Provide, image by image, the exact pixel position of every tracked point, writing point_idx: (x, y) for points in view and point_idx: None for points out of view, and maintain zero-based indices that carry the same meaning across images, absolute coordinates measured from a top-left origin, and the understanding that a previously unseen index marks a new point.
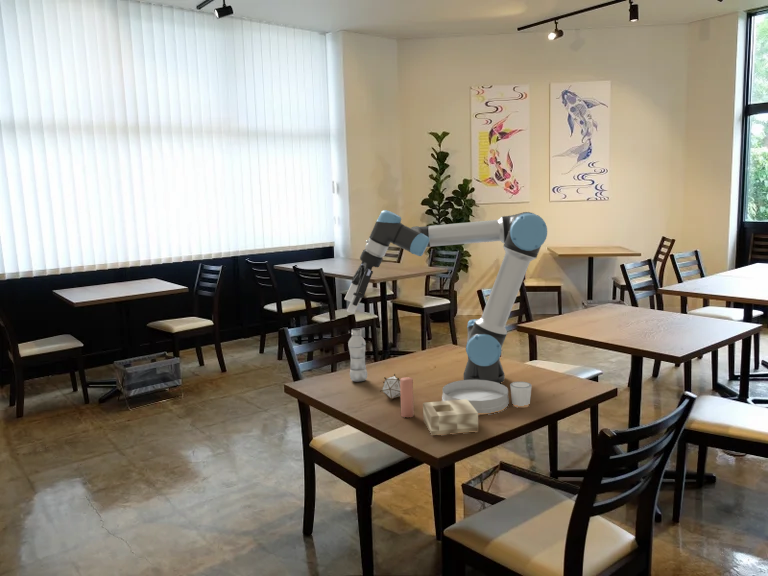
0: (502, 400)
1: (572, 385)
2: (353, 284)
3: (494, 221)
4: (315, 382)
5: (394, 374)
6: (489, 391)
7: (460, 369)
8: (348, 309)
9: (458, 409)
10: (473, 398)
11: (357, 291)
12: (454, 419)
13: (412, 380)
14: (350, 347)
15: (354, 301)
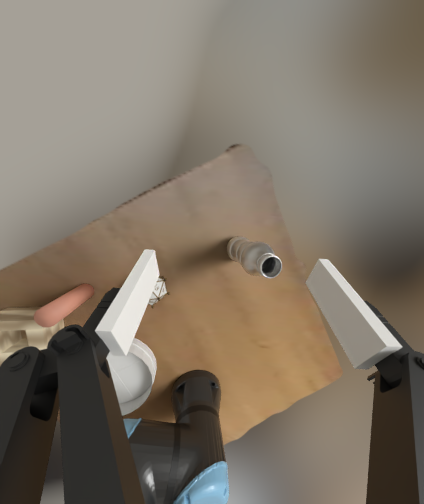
0: None
1: None
2: (376, 353)
3: None
4: (249, 185)
5: (158, 299)
6: (142, 391)
7: (243, 372)
8: (141, 259)
9: (5, 358)
10: (120, 371)
11: (61, 375)
12: None
13: (43, 325)
14: (248, 244)
15: (99, 305)
